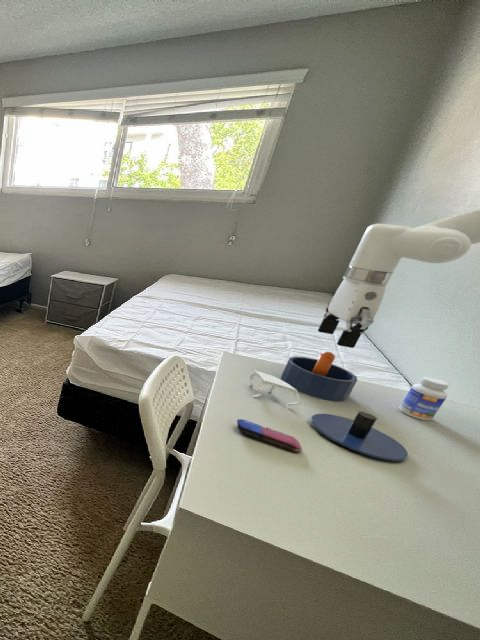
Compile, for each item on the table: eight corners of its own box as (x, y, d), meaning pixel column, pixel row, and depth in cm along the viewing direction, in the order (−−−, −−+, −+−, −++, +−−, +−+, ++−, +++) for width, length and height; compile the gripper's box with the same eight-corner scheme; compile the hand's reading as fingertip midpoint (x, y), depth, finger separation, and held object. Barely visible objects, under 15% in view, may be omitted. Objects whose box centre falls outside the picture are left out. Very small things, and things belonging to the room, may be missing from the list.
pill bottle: (411, 418, 85) (433, 384, 81) (391, 406, 90) (411, 373, 86) (438, 423, 84) (462, 388, 80) (417, 410, 89) (438, 377, 85)
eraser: (298, 445, 73) (302, 438, 72) (302, 456, 69) (306, 449, 69) (233, 422, 78) (236, 416, 77) (234, 432, 75) (237, 425, 74)
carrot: (316, 384, 97) (333, 351, 93) (321, 389, 95) (339, 355, 91) (304, 382, 98) (320, 349, 94) (309, 386, 96) (325, 353, 92)
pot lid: (377, 428, 80) (390, 406, 78) (425, 473, 67) (443, 448, 65) (297, 410, 85) (308, 389, 83) (329, 448, 72) (342, 424, 70)
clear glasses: (236, 390, 92) (242, 374, 90) (248, 383, 96) (255, 367, 95) (293, 415, 83) (301, 398, 81) (304, 405, 87) (312, 389, 85)
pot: (330, 382, 100) (339, 363, 98) (358, 406, 88) (369, 386, 86) (273, 370, 105) (281, 352, 103) (292, 392, 93) (301, 373, 91)
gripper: (412, 286, 76) (373, 355, 83) (365, 271, 91) (335, 331, 98) (368, 281, 79) (333, 348, 85) (329, 267, 94) (302, 325, 100)
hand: (334, 339), depth 91 cm, fingers open, 9 cm apart
